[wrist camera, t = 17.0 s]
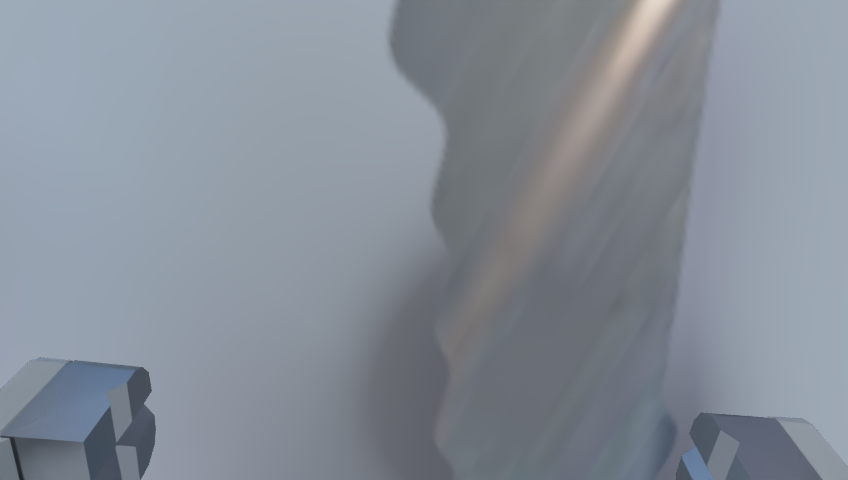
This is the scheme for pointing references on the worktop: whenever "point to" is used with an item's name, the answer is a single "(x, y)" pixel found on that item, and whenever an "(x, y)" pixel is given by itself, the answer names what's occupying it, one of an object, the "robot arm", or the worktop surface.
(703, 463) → the robot arm
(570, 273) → the worktop surface
